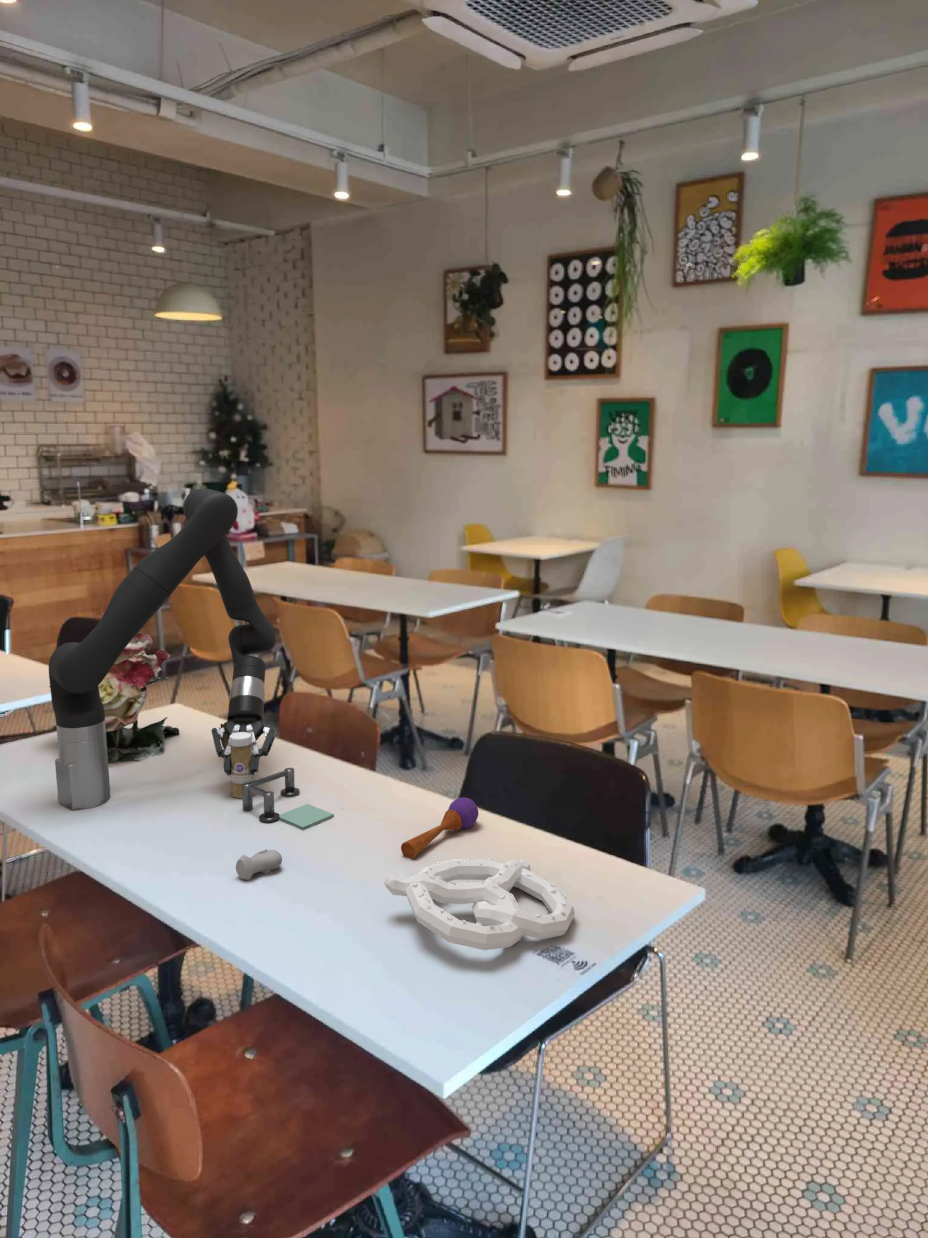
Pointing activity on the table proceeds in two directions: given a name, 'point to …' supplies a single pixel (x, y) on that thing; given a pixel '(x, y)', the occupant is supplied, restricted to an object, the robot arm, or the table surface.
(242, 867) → the grey figurine
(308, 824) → the pad
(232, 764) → the sprinkles bottle
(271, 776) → the grey jointed rod frame
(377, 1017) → the table surface
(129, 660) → the rose bouquet
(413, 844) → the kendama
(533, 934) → the pretzel
